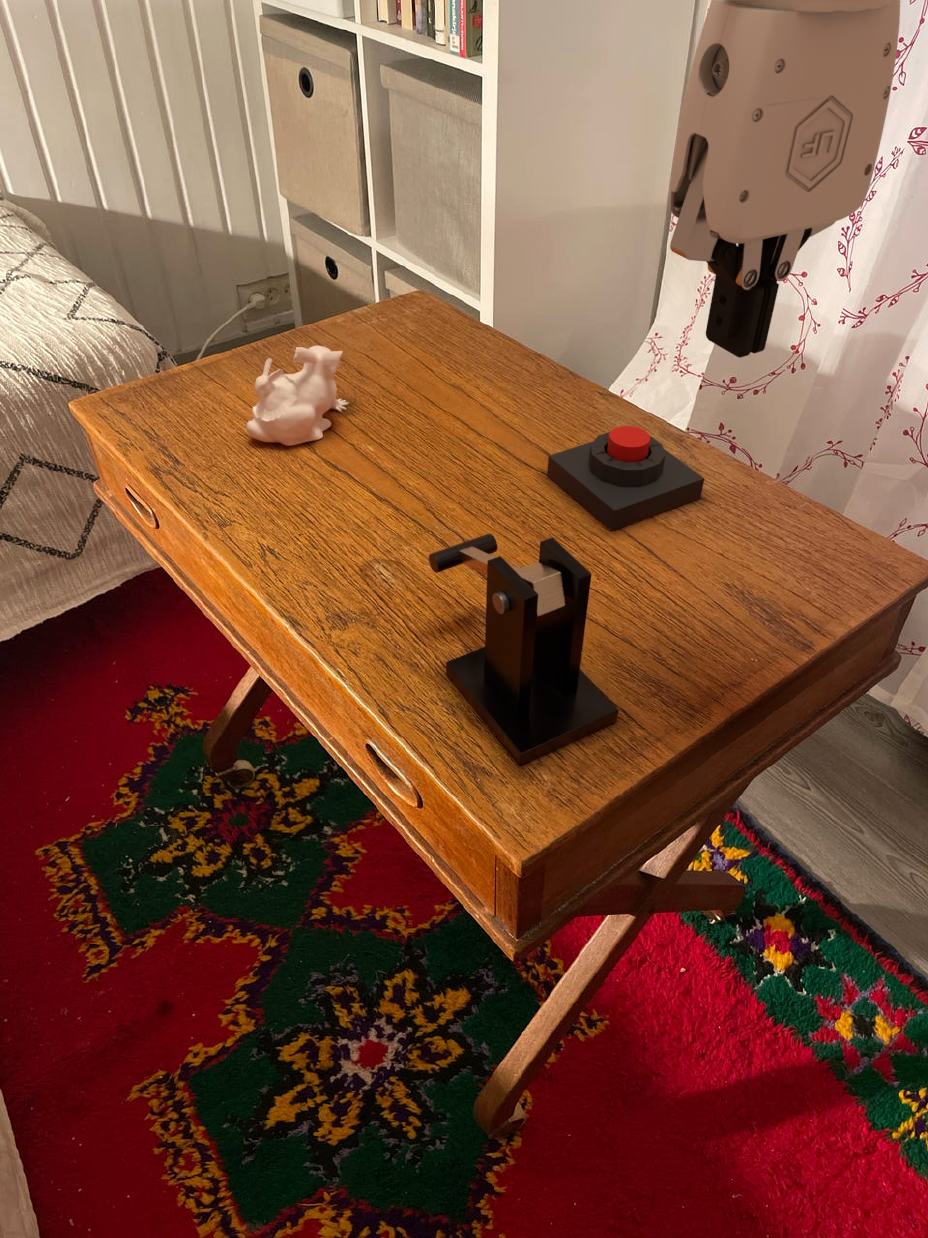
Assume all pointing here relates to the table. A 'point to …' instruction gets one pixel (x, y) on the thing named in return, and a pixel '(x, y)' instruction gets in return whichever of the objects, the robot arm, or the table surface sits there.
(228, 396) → the table surface
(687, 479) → the control block
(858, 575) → the table surface
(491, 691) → the switch bracket
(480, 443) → the table surface
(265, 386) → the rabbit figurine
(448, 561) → the lever
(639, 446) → the button
